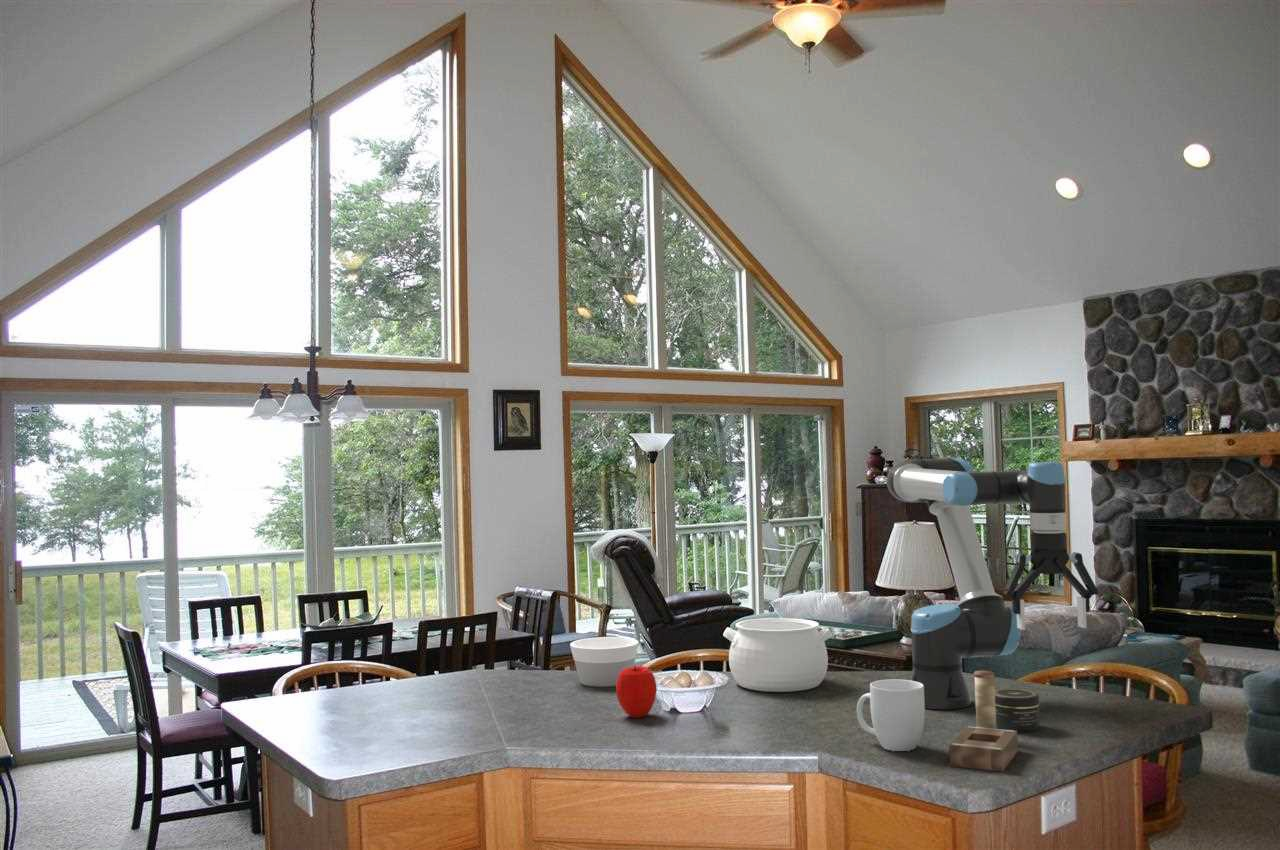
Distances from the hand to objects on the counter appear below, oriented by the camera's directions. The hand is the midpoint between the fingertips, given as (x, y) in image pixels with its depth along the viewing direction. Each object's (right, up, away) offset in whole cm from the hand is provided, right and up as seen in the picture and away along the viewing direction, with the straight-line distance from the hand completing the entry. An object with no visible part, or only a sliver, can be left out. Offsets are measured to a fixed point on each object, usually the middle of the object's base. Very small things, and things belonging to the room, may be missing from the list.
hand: (1051, 628), depth 236 cm
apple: (-92, -25, +20) cm, 97 cm away
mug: (-38, -23, -13) cm, 46 cm away
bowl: (-101, -27, +61) cm, 121 cm away
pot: (-54, -25, +51) cm, 78 cm away
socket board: (-22, -22, -23) cm, 39 cm away
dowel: (-17, -22, -9) cm, 29 cm away
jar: (-8, -22, 0) cm, 24 cm away
